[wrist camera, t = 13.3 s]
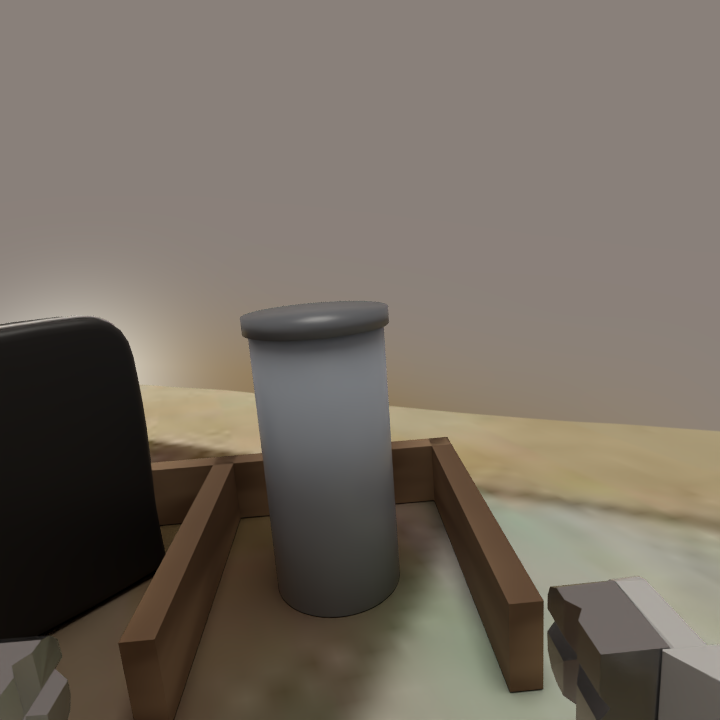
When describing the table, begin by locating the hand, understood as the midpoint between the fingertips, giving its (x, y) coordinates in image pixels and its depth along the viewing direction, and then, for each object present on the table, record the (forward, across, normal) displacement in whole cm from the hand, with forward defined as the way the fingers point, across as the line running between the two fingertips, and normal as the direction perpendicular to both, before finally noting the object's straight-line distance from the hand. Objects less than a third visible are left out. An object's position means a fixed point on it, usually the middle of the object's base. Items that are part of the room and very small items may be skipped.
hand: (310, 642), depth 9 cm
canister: (+12, 0, +7) cm, 14 cm away
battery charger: (+12, +11, +7) cm, 18 cm away
